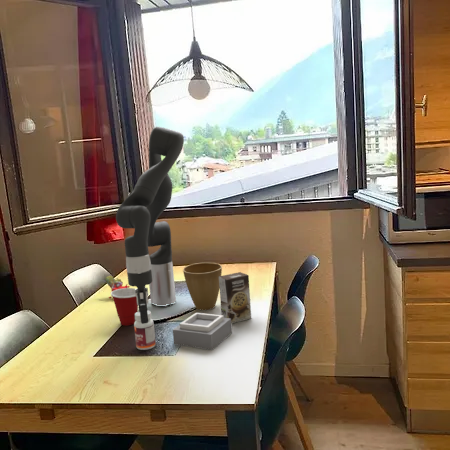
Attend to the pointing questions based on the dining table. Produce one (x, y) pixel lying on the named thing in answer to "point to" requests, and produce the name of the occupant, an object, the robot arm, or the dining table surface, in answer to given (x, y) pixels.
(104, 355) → the dining table surface
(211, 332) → the display plinth
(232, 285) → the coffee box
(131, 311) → the plastic cup
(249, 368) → the dining table surface
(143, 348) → the pill bottle
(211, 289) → the plant pot
